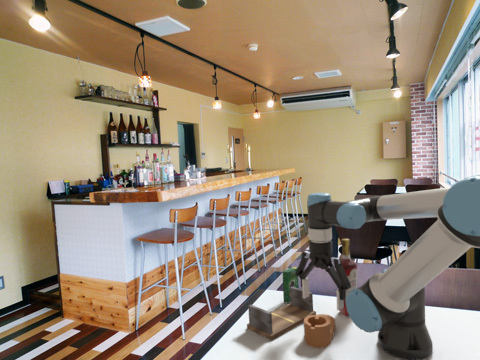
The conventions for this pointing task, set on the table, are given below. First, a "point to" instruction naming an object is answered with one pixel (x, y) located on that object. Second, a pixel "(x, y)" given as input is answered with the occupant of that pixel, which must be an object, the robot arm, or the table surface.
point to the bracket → (319, 330)
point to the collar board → (281, 316)
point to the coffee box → (289, 282)
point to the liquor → (348, 271)
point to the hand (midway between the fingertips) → (322, 302)
